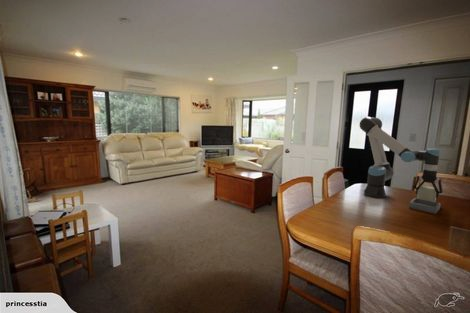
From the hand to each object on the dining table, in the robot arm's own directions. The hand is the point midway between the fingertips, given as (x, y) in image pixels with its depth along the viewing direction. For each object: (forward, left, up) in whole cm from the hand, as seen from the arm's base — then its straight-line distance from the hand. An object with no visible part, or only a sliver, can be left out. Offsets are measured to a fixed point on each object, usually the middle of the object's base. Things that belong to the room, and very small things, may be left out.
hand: (426, 199), depth 164 cm
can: (0, 0, -2) cm, 2 cm away
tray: (+2, -16, -2) cm, 16 cm away
